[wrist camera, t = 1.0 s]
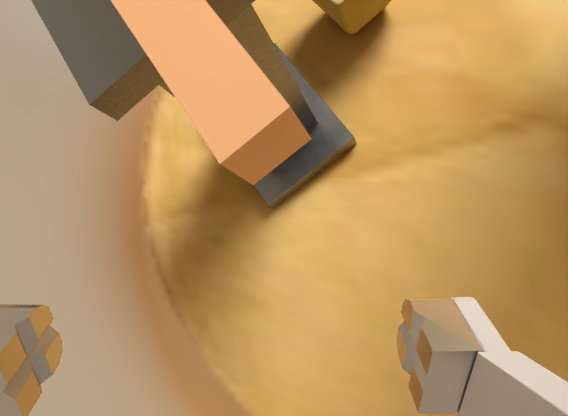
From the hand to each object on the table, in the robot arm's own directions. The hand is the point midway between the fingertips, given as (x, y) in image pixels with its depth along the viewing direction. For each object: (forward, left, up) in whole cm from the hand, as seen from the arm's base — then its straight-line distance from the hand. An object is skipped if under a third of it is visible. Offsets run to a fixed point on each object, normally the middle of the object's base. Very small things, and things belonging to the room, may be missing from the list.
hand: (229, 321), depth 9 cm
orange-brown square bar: (-13, -11, -6) cm, 18 cm away
